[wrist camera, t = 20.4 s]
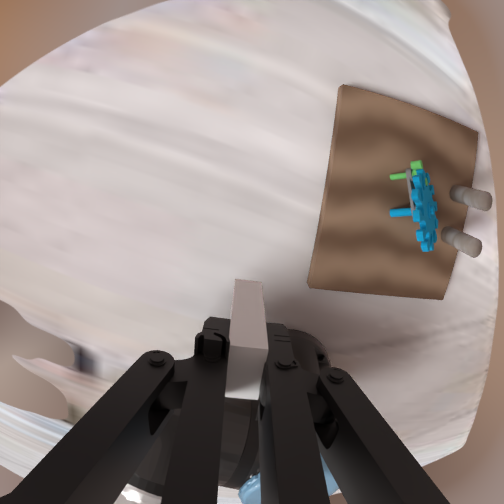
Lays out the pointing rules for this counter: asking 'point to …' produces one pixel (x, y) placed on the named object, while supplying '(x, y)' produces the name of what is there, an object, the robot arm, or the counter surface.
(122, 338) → the counter surface
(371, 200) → the dowel plate
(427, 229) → the gear
